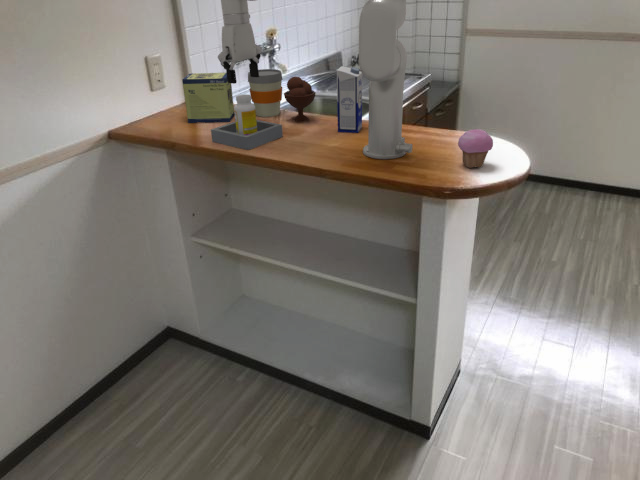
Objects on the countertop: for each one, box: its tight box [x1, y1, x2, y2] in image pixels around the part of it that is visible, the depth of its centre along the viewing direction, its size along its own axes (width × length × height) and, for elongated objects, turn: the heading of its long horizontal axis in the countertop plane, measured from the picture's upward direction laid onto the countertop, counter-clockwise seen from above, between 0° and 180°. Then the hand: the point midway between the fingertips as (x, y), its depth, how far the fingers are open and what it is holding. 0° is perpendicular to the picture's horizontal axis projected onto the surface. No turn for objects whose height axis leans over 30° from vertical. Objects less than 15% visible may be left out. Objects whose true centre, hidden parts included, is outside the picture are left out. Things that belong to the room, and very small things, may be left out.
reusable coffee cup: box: [247, 68, 283, 118], centre depth 198 cm, size 13×13×15 cm
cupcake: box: [457, 128, 494, 169], centre depth 144 cm, size 9×9×10 cm
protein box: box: [181, 71, 235, 124], centre depth 194 cm, size 10×16×16 cm
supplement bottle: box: [234, 94, 257, 135], centre depth 170 cm, size 7×7×13 cm
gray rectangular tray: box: [210, 119, 284, 151], centre depth 173 cm, size 16×16×4 cm
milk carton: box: [336, 65, 363, 134], centre depth 175 cm, size 7×7×20 cm
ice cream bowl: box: [283, 76, 317, 123], centre depth 189 cm, size 11×11×15 cm
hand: (243, 80), depth 165 cm, fingers open, 9 cm apart
